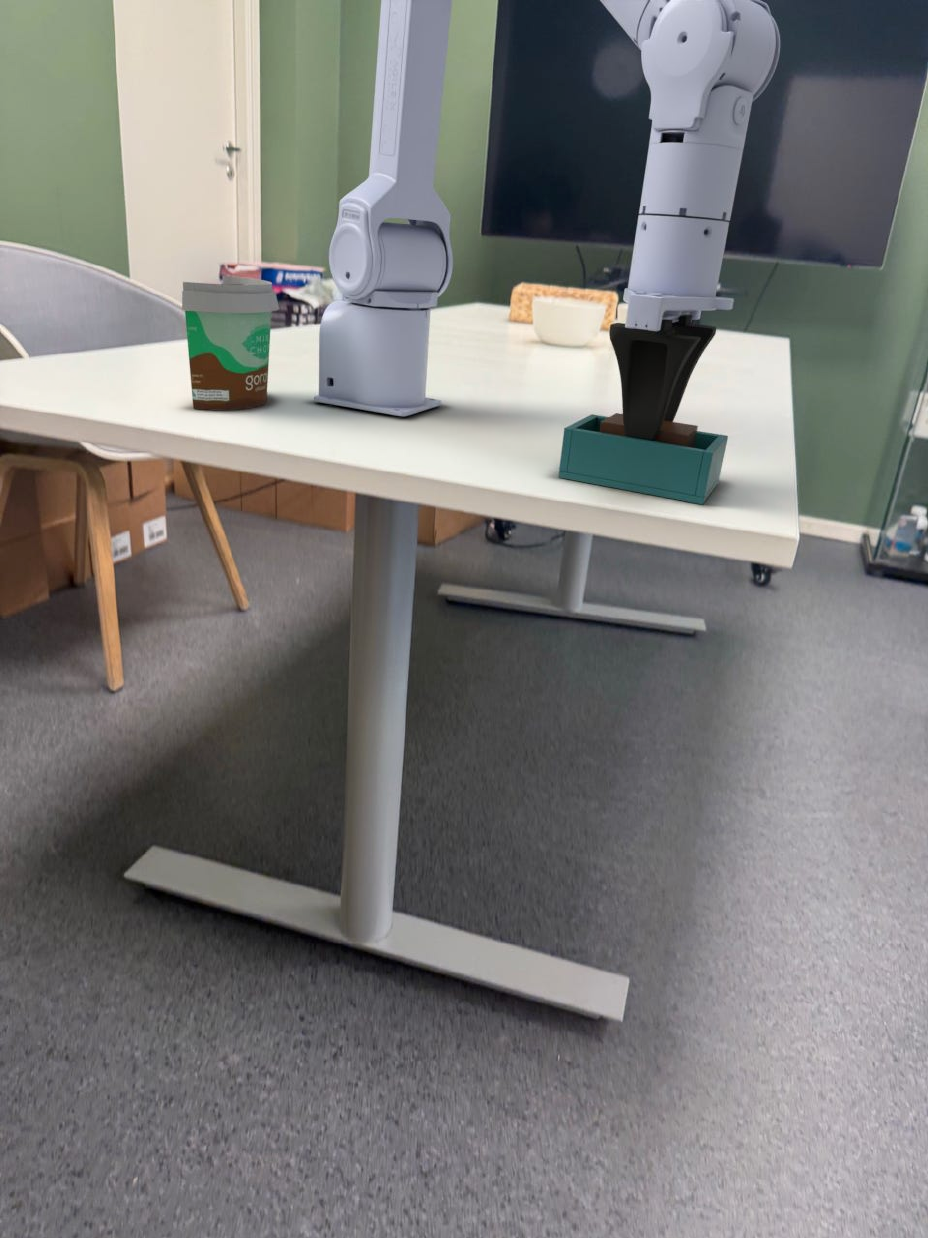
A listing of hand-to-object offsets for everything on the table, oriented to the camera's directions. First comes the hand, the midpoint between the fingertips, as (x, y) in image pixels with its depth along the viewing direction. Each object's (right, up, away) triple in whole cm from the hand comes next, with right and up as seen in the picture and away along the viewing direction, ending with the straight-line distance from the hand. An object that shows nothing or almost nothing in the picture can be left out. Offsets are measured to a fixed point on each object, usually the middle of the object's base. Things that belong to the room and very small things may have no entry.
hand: (647, 431), depth 60 cm
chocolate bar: (0, -1, +1) cm, 1 cm away
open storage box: (0, -3, +1) cm, 3 cm away
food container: (-33, +6, +16) cm, 37 cm away
